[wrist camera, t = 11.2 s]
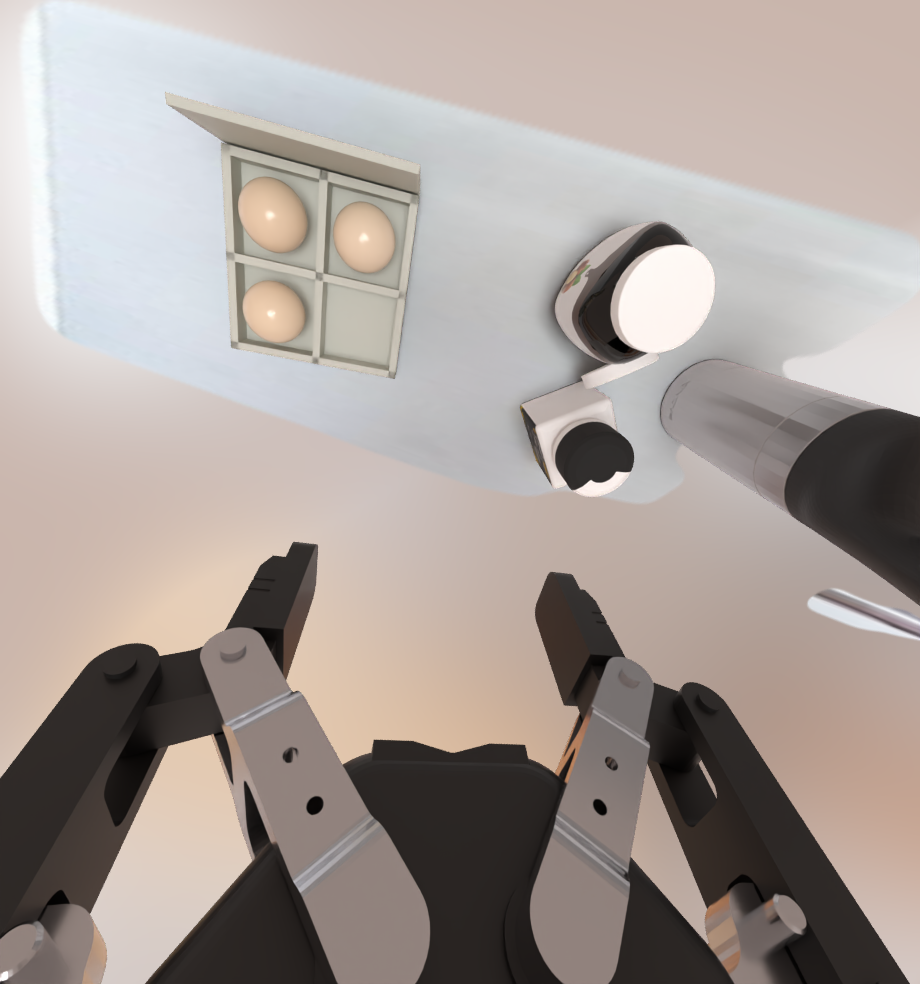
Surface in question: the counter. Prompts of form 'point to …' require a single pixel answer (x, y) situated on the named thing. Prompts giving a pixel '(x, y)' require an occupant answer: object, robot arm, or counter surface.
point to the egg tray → (316, 239)
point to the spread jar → (635, 299)
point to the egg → (274, 311)
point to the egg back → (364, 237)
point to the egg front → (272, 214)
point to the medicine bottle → (578, 440)
